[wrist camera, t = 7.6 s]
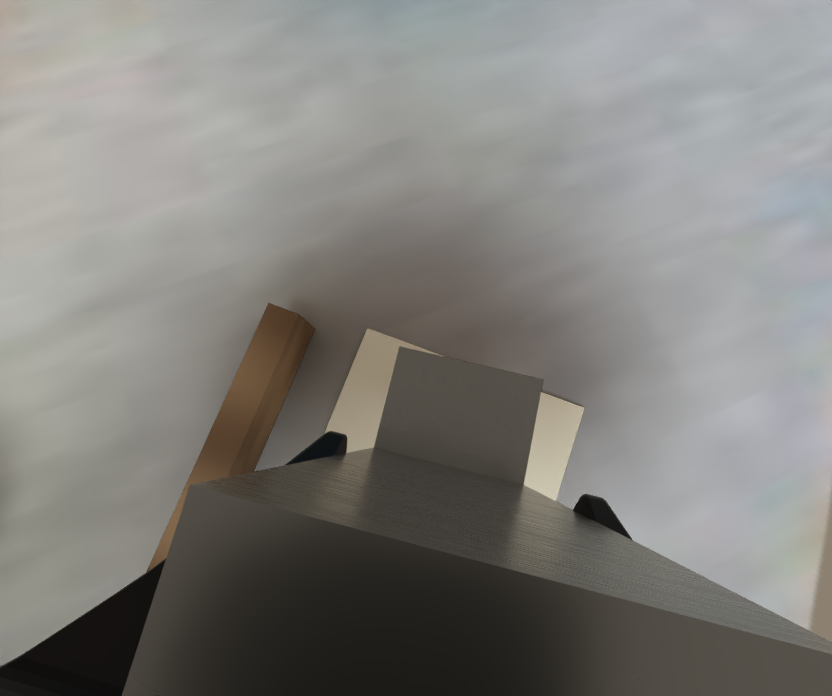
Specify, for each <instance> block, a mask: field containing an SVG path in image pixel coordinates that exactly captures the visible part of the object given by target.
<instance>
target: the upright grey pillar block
mask: <svg viewBox="0 0 832 696" xmlns="http://www.w3.org/2000/svg"><path fill="white" fill-rule="evenodd" d="M542 384H543V379H539V378H535V377H530V376H526V375H522V374H517V373H513V372H509V371H504V370H500V369H496V368H491V367H487V366H483V365H478V364H474V363H470V362H466V361H461V360H457V359H453V358H448V357H444V356H440V355H435V354H431V353H427V352H422V351H418V350H414V349H409V348H405V347H401V346H399V349H398V353H397V357H396V361H395V365H394V369H393V373H392V377H391V381H390V385H389V389H388V393H387V397H386V401H385V405H384V409H383V413H382V417H381V421H380V425H379V429H378V433H377V437H376V441H375V444H374V447H373V448H368V449H363V450H358V451H354V452H349V453H346V454H341V455H334V456H329V457H324V458H319V459H314V460H310V461H305V462H300V463H295V464H290V465H285V466H280V467H275V468H270V469H265V470H261V471H256V472H251V473H246V474H241V475H236V476H231V477H226V478H221V479H216V480H212V481H207V482H202V483H197V484H192V485H190V486H189V489H188V493H187V496H186V499H185V502H184V505H183V508H182V511H181V514H180V517H179V520H178V523H177V527H176V530H175V533H174V536H173V539H172V542H171V545H170V548H169V551H168V554H167V557H166V561H165V564H164V567H163V570H162V573H161V576H160V579H159V582H158V585H157V588H156V591H155V595H154V598H153V601H152V604H151V607H150V610H149V613H148V616H147V619H146V622H145V625H144V628H143V632H142V635H141V638H140V641H139V644H138V647H137V650H136V653H135V656H134V659H133V662H132V666H131V669H130V672H129V675H128V678H127V681H126V684H125V687H124V690H123V693H122V696H832V642H830V641H828V640H826V639H824V638H822V637H820V636H818V635H816V634H814V633H812V632H811V631H809V630H807V629H805V628H803V627H801V626H799V625H797V624H795V623H793V622H791V621H789V620H787V619H785V618H783V617H781V616H779V615H777V614H775V613H773V612H771V611H769V610H768V609H766V608H764V607H762V606H760V605H758V604H756V603H754V602H752V601H750V600H748V599H746V598H744V597H742V596H740V595H738V594H736V593H734V592H732V591H730V590H728V589H726V588H724V587H723V586H721V585H719V584H717V583H715V582H713V581H711V580H709V579H707V578H705V577H703V576H701V575H699V574H697V573H695V572H693V571H691V570H689V569H687V568H685V567H683V566H681V565H680V564H678V563H676V562H674V561H672V560H670V559H668V558H666V557H664V556H662V555H660V554H658V553H656V552H654V551H652V550H650V549H648V548H646V547H644V546H642V545H640V544H638V543H637V542H635V541H633V540H631V539H629V538H627V537H625V536H623V535H621V534H619V533H617V532H615V531H613V530H611V529H609V528H607V527H605V526H603V525H601V524H599V523H597V522H595V521H593V520H591V519H589V518H587V517H585V516H583V515H581V514H579V513H577V512H575V511H573V510H572V509H570V508H568V507H566V506H564V505H562V504H560V503H558V502H556V501H554V500H552V499H551V498H549V497H547V496H545V495H543V494H541V493H539V492H537V491H535V490H533V489H531V488H529V487H527V486H525V485H524V480H525V475H526V470H527V464H528V459H529V454H530V448H531V443H532V438H533V432H534V427H535V422H536V416H537V411H538V406H539V400H540V395H541V390H542Z"/></svg>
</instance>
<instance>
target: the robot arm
mask: <svg viewBox="0 0 832 696" xmlns="http://www.w3.org/2000/svg"><path fill="white" fill-rule="evenodd" d="M346 451H347V436H346V435H345V434H342V433H338V432H334V431H328V432H326V433H325V434H324V435H323V436H321V437H320V438H319V439H317V440H316V441H315V442H314V443H312V444H311V445H310V446H309V447H307V448H306V449H305V450H303V451H302V452H301V453H300V454H298V455H297V456H296V457H295V458H293V459H292V460H291V461H289V462H288V463H287V464H286V465H290V464H295V463H300V462H305V461H310V460H314V459H319V458H324V457H329V456H334V455H341V454H346ZM284 466H285V465H284ZM573 511H575V512H577V513H579V514H581V515H583V516H585V517H587V518H589V519H591V520H593V521H595V522H597V523H599V524H601V525H603V526H605V527H607V528H609V529H611V530H613V531H615V532H617V533H619V534H621V535H623V536H625V537H627V538H629V539H631V540H632V538H631V537H630V535H629V534H628V533H627V531H626V530H625V528H624V527H623V525H622V524H621V522H620V521H619V519H618V518H617V516H616V515H615V514H614V512H613V511H612V509H611V508H610V506H609V505H608V503H607V502H606V501H605V500H604V499H603V498H601V497H597V496H593V495H589V494H583V495H582V496H581V497H580V499H579V501H578V502H577V504H576V506H575V508H574V509H573ZM165 561H166V558H165V559H164V560H163V561H161V562H160V563H159V564H157V565H156V566H155V567H153V568H152V569H151V570H149V571H148V572H147V573H145V574H144V575H142V576H141V577H139V578H138V579H136V580H135V581H133V582H132V583H130V584H129V585H127V586H126V587H125V588H123V589H122V590H120V591H119V592H117V593H116V594H114V595H113V596H111V597H110V598H108V599H107V600H105V601H104V602H102V603H101V604H99V605H97V606H96V607H94V608H93V609H91V610H90V611H88V612H87V613H85V614H84V615H82V616H81V617H79V618H78V619H76V620H75V621H73V622H72V623H70V624H68V625H67V626H65V627H64V628H62V629H61V630H59V631H58V632H56V633H55V634H53V635H52V636H50V637H49V638H47V639H46V640H44V641H43V642H41V643H39V644H38V645H36V646H35V647H33V648H32V649H30V650H29V651H27V652H25V653H24V654H22V655H21V656H19V657H17V658H15V659H13V660H12V661H10V662H8V663H6V664H5V665H3V666H1V667H0V696H122V693H123V690H124V687H125V684H126V681H127V678H128V675H129V672H130V669H131V666H132V662H133V659H134V656H135V653H136V650H137V647H138V644H139V641H140V638H141V635H142V632H143V628H144V625H145V622H146V619H147V616H148V613H149V610H150V607H151V604H152V601H153V598H154V595H155V591H156V588H157V585H158V582H159V579H160V576H161V573H162V570H163V567H164V564H165Z"/></svg>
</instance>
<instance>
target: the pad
mask: <svg viewBox="0 0 832 696" xmlns="http://www.w3.org/2000/svg"><path fill="white" fill-rule="evenodd" d="M399 346H401V347H405V348H409V349H414V350H418V351H422V352H427V353H431V354H435V355H439V354H437V353H434V352H431V351H428V350H426V349H423V348H420V347H418V346H415V345H412V344H409V343H407V342H404V341H401V340H399V339H396V338H393V337H390V336H388V335H385V334H382V333H380V332H377V331H374V330H371V329H369V328H367V330H366V333H365V335H364V337H363V340H362V342H361V345H360V347H359V350H358V352H357V355H356V357H355V359H354V362H353V364H352V367H351V369H350V372H349V374H348V376H347V379H346V381H345V384H344V386H343V389H342V391H341V394H340V396H339V398H338V401H337V403H336V406H335V408H334V411H333V413H332V416H331V418H330V420H329V423H328V425H327V428H326V430H325V433H326V432H328V431H334V432H338V433H342V434H345V435H346V436H347V451H346V453H349V452H354V451H358V450H363V449H368V448H373V447H374V444H375V441H376V437H377V433H378V429H379V425H380V421H381V417H382V413H383V409H384V405H385V401H386V397H387V393H388V389H389V385H390V381H391V377H392V373H393V369H394V365H395V361H396V357H397V353H398V349H399ZM440 356H442V355H440ZM444 357H445V356H444ZM583 411H584V408H583V407H581V406H578V405H575V404H573V403H570V402H567V401H564V400H562V399H559V398H556V397H554V396H551V395H548V394H545V393H543V392H541V395H540V400H539V406H538V411H537V416H536V422H535V427H534V432H533V438H532V443H531V448H530V454H529V459H528V464H527V470H526V475H525V480H524V485H525V486H527V487H529V488H531V489H533V490H535V491H537V492H539V493H541V494H543V495H545V496H547V497H549V498H551V499H552V500H554V501H556V498H557V495H558V492H559V489H560V485H561V482H562V479H563V476H564V473H565V469H566V466H567V463H568V460H569V456H570V453H571V450H572V447H573V444H574V440H575V437H576V434H577V431H578V428H579V424H580V421H581V418H582V415H583ZM325 433H324V434H325Z"/></svg>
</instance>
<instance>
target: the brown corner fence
mask: <svg viewBox="0 0 832 696" xmlns="http://www.w3.org/2000/svg"><path fill="white" fill-rule="evenodd" d="M314 330H315V328H314V327H313V326H311V325H310V324H309V323H308V322H307V321H306V320H305V319H304V318H303V317H301V316H300V315H299V314H297V313H294V312H292V311H289V310H286V309H283V308H281V307H278V306H275V305H273V304H270V303H268V306H267V308H266V310H265V312H264V314H263V317H262V319H261V321H260V323H259V325H258V328H257V330H256V332H255V334H254V336H253V339H252V341H251V343H250V345H249V347H248V350H247V352H246V354H245V356H244V358H243V361H242V363H241V365H240V367H239V369H238V372H237V374H236V376H235V378H234V380H233V383H232V385H231V387H230V389H229V391H228V394H227V396H226V398H225V400H224V402H223V405H222V407H221V409H220V411H219V413H218V416H217V418H216V420H215V422H214V424H213V427H212V429H211V431H210V433H209V435H208V438H207V440H206V442H205V444H204V446H203V449H202V451H201V453H200V455H199V457H198V460H197V462H196V464H195V466H194V468H193V471H192V473H191V475H190V477H189V479H188V482H187V484H186V486H185V488H184V490H183V493H182V495H181V497H180V499H179V501H178V504H177V506H176V508H175V510H174V512H173V515H172V517H171V519H170V521H169V523H168V526H167V528H166V530H165V532H164V534H163V537H162V539H161V541H160V543H159V545H158V548H157V550H156V552H155V554H154V556H153V559H152V561H151V563H150V565H149V567H148V570H147V572H148V571H149V570H151V569H152V568H153V567H155V566H156V565H157V564H159V563H160V562H161V561H163V560H164V559H165V558H166V557H167V554H168V551H169V548H170V545H171V542H172V539H173V536H174V533H175V530H176V527H177V523H178V520H179V517H180V514H181V511H182V508H183V505H184V502H185V499H186V496H187V493H188V489H189V486H190V485H192V484H197V483H202V482H207V481H212V480H216V479H221V478H226V477H231V476H236V475H241V474H246V473H251V472H254V469H255V467H256V465H257V462H258V460H259V458H260V455H261V453H262V451H263V448H264V446H265V444H266V441H267V439H268V437H269V434H270V432H271V430H272V427H273V425H274V423H275V421H276V418H277V416H278V414H279V411H280V409H281V407H282V404H283V402H284V400H285V397H286V395H287V393H288V390H289V388H290V386H291V383H292V381H293V379H294V376H295V374H296V372H297V369H298V367H299V365H300V363H301V360H302V358H303V356H304V353H305V351H306V349H307V346H308V344H309V342H310V339H311V337H312V335H313V332H314ZM147 572H146V573H147Z"/></svg>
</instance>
